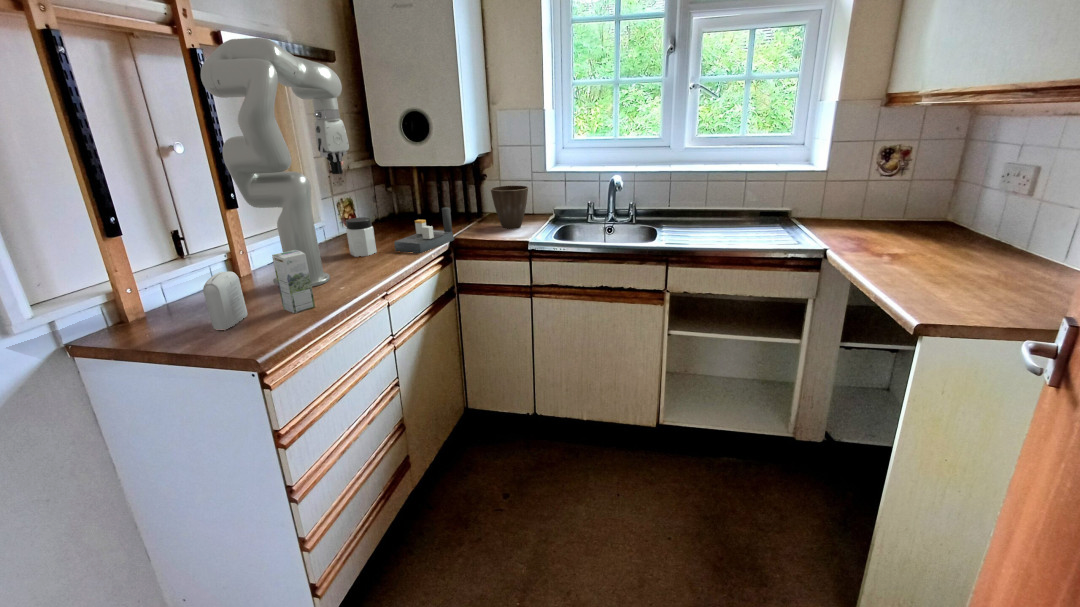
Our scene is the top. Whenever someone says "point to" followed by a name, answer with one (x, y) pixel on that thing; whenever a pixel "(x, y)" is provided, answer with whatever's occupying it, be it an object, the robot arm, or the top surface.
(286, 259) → the syrup box
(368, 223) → the jar
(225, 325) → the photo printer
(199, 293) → the top surface
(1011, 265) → the top surface
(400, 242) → the breaker panel
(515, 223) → the plant pot
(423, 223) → the paddle on
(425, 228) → the paddle
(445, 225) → the post
